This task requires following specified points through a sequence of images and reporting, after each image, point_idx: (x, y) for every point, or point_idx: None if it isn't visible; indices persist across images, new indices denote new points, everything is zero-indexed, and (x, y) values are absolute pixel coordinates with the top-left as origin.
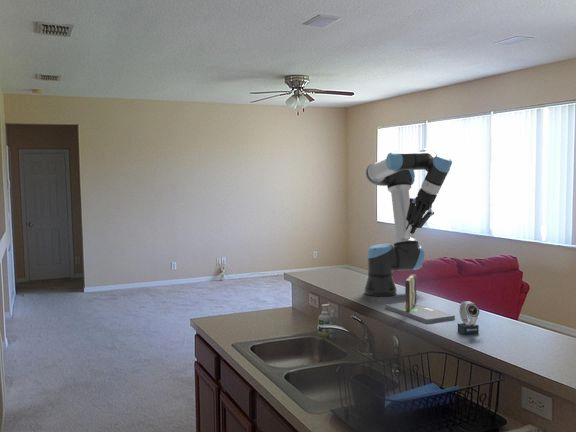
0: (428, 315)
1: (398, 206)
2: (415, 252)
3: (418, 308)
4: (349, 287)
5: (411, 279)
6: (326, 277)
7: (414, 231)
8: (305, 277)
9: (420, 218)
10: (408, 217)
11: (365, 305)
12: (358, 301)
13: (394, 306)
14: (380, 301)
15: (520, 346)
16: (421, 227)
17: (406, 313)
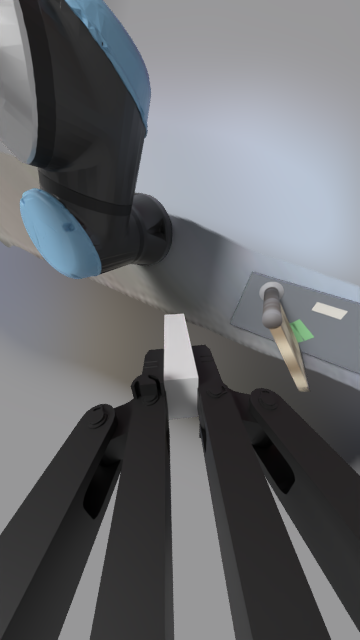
0: (351, 350)
1: None
2: (107, 99)
3: (301, 315)
4: None
5: (298, 364)
6: (13, 203)
7: (212, 362)
8: (14, 233)
9: (287, 571)
10: (111, 484)
11: (196, 322)
12: (171, 308)
13: (250, 326)
14: (191, 286)
15: None
16: (281, 399)
17: None
